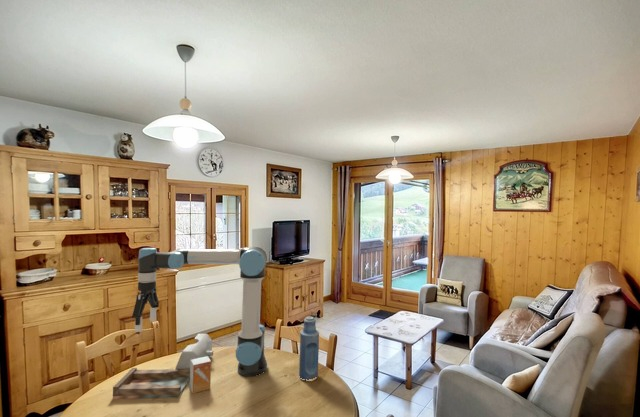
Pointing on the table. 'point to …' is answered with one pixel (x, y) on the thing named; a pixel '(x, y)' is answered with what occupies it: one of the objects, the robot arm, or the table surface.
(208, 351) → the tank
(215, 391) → the table surface
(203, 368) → the small box
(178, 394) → the board
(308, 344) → the bottle
